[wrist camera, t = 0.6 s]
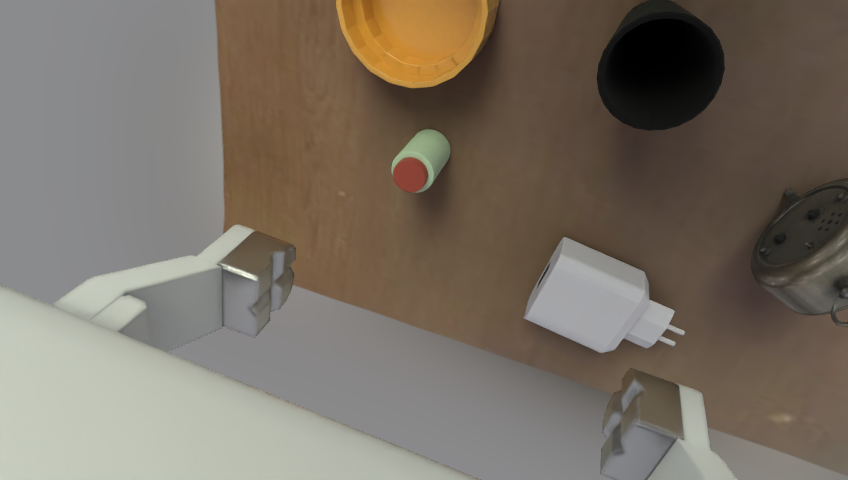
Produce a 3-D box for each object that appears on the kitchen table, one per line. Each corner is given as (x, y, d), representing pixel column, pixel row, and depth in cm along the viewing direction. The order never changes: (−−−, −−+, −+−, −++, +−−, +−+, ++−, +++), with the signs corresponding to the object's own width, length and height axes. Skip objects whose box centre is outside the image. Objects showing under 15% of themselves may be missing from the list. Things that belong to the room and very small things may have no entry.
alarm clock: (772, 260, 53) (817, 383, 40) (728, 226, 53) (759, 339, 40) (888, 180, 47) (987, 295, 34) (839, 140, 46) (920, 241, 33)
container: (414, 124, 57) (390, 150, 51) (453, 134, 56) (433, 162, 51) (409, 161, 59) (385, 190, 54) (447, 172, 59) (427, 202, 53)
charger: (654, 352, 62) (528, 295, 64) (703, 293, 57) (564, 232, 58) (656, 382, 59) (522, 322, 60) (708, 322, 53) (559, 257, 54)
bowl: (365, -98, 48) (340, -97, 44) (514, -70, 46) (503, -65, 42) (354, 55, 55) (332, 69, 51) (482, 86, 53) (470, 103, 49)
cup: (662, 98, 49) (670, 151, 39) (586, 53, 49) (574, 95, 39) (727, 15, 44) (753, 51, 35) (642, -34, 44) (645, -12, 35)
